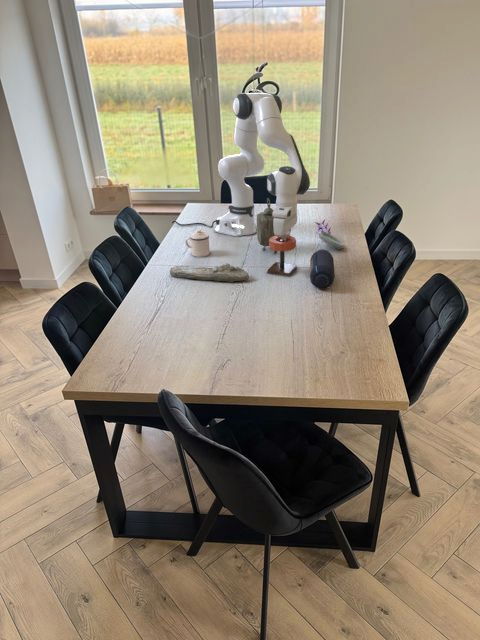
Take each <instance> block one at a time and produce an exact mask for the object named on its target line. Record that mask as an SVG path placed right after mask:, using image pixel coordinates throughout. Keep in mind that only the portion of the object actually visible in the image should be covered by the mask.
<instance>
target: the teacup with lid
mask: <svg viewBox="0 0 480 640" xmlns="http://www.w3.org/2000/svg"><path fill="white" fill-rule="evenodd" d="M209 235H210V234H209V233H207V232H204V231H202V230H201V229H197V230H196V231H195V232H193V233H190V235H189V237H187V238H186V239H185V240H184V243H185V246H186V247H187V248H189V249H191V255H192V256H193V257H196V258H204V257H207V256H209V255H210V253H211V252H210V251H211V250H210V236H209ZM188 241H190V245H189V243H188Z"/></svg>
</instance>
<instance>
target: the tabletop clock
mask: <svg viewBox="0 0 480 640" xmlns="http://www.w3.org/2000/svg"><path fill="white" fill-rule="evenodd" d="M270 199H271V198H269V197H267V199H266V205H267V207H266V208H265V209H264V210H263V212H259V213H257V214H256V229H257V231H256V238H257V241H258V244H259V245H260V246H262V251H264V252H265V251H266V250H267V248H266V247H269V239H270V238H271V237H273V236H275V234H274V226H273V220H274V217H273V216H272V213H273V211H274V208H271V200H270ZM273 253H274V254H275V255H277V254H278V251H275V250H273Z"/></svg>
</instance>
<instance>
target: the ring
mask: <svg viewBox="0 0 480 640" xmlns="http://www.w3.org/2000/svg"><path fill="white" fill-rule="evenodd" d="M286 237H287V241H286V242H280V240H281V239H282V237H281V236H273V237H271V238H270V239H269V246H268V247H269V249H270V250H273V251H274V250H275V251H277V252H280V251H285V252H289V251H292V250H294V249H295V248H296V247H297V239H296V237H294V236H292V235H290V236H288V235H286Z"/></svg>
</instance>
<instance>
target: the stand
mask: <svg viewBox="0 0 480 640" xmlns="http://www.w3.org/2000/svg"><path fill="white" fill-rule="evenodd" d="M280 242H285V240H283V239H281V240H280ZM285 253H286V251H279V262H278V261H275V262H274V263H273V264H272V265H271V266H270V267H269V268H268V269H267V274H270V275H275V276H276V275H277V276H284V277H290V276H291V275H292V274H293V273H294V272H295V270H297V264H293V263H285Z"/></svg>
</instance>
